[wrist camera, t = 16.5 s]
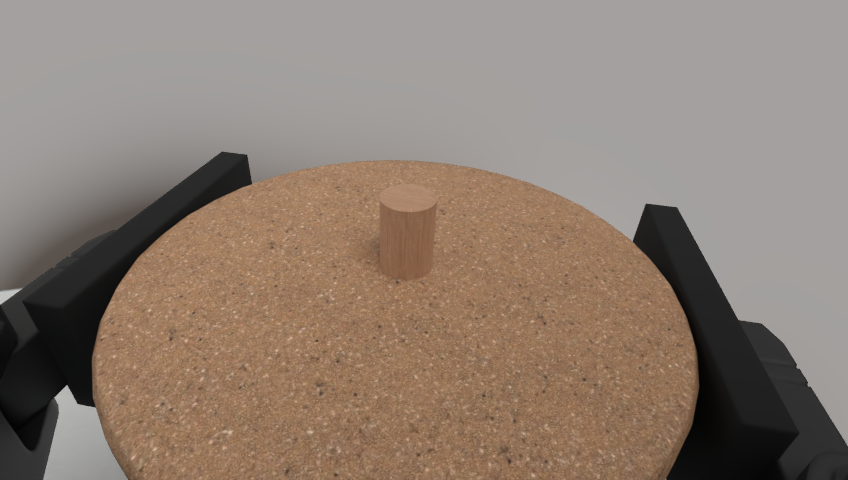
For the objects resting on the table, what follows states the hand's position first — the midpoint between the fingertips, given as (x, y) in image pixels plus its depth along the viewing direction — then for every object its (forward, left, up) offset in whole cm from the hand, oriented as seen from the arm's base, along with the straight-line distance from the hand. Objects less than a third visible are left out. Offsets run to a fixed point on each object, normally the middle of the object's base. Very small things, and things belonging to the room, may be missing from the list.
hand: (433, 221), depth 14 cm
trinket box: (-2, +4, -7) cm, 8 cm away
